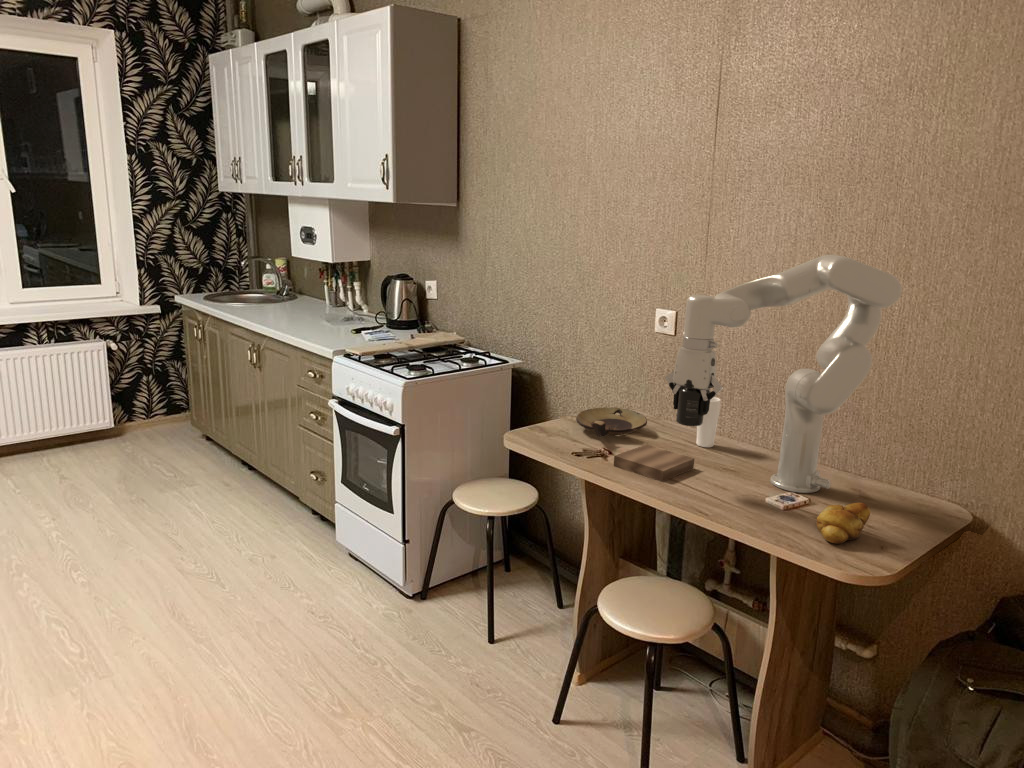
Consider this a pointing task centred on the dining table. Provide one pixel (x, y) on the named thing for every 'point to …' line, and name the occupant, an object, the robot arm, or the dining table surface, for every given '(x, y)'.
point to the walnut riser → (654, 462)
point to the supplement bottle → (689, 405)
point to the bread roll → (842, 522)
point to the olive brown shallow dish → (611, 421)
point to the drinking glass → (709, 424)
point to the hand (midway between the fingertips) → (690, 410)
